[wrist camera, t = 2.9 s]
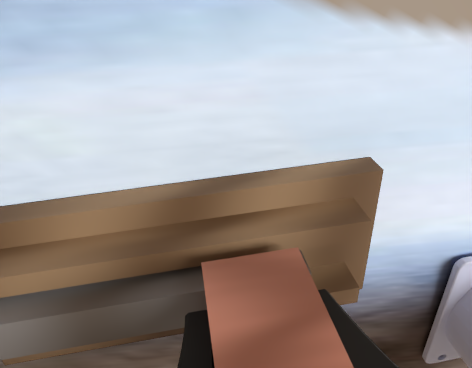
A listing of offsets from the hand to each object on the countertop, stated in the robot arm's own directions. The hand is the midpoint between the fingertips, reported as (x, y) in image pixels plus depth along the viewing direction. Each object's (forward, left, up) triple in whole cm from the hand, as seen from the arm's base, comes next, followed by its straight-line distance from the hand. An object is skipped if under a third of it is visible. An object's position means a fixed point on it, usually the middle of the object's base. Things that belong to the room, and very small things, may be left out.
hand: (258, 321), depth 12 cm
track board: (+2, 0, -4) cm, 4 cm away
